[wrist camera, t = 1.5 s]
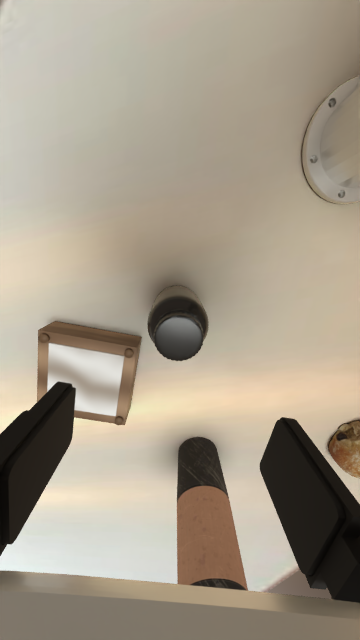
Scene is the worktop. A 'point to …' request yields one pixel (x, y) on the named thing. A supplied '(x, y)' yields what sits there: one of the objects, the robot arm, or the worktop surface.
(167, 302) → the supplement bottle
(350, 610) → the robot arm
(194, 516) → the travel mug
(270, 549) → the worktop surface
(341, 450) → the bread roll
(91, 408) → the walnut base block
